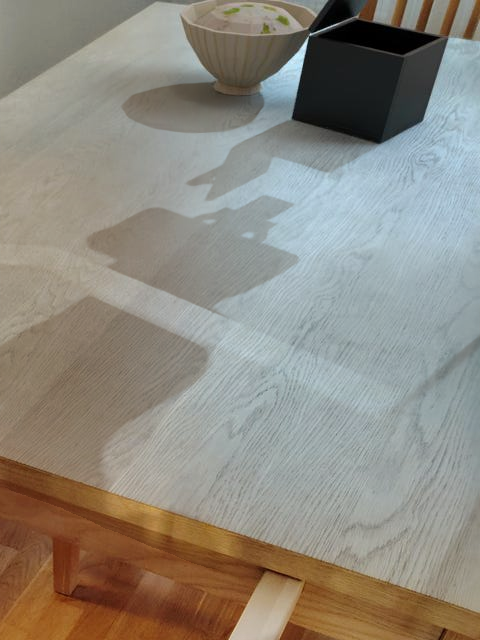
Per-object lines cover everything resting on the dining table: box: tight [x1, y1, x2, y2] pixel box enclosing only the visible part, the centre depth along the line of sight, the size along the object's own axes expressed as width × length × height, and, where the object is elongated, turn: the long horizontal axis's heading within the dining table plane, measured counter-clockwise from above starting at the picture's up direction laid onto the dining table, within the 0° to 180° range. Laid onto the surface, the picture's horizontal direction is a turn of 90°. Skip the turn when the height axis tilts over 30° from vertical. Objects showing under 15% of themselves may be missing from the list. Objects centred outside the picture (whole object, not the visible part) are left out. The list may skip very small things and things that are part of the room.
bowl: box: [179, 0, 318, 97], centre depth 127 cm, size 19×19×10 cm
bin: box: [291, 17, 449, 144], centre depth 118 cm, size 13×11×10 cm
